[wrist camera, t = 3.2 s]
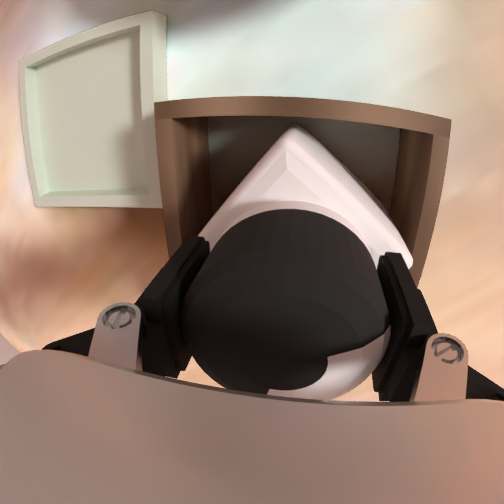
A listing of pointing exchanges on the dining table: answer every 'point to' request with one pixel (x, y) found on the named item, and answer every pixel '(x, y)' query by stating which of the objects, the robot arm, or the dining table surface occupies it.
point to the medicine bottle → (293, 278)
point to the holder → (198, 109)
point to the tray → (96, 115)
